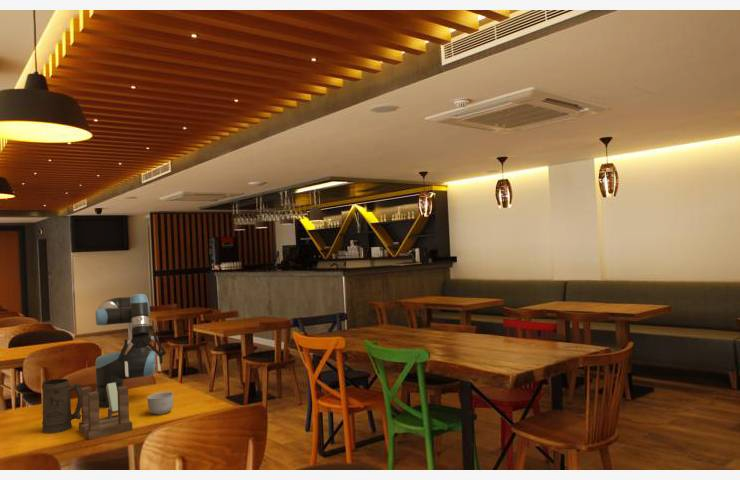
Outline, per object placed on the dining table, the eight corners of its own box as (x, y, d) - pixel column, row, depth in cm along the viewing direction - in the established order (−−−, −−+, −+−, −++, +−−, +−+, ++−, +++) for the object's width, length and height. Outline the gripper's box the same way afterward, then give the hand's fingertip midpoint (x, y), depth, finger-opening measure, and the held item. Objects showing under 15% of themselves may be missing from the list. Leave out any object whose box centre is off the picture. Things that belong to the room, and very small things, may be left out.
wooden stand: (79, 430, 232) (77, 388, 232) (121, 421, 242) (119, 380, 243) (89, 439, 220) (87, 395, 220) (133, 429, 230) (131, 387, 230)
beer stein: (38, 435, 228) (40, 384, 228) (41, 427, 237) (43, 378, 238) (81, 431, 234) (83, 381, 234) (83, 424, 244) (85, 376, 244)
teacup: (165, 416, 247) (164, 398, 247) (142, 416, 249) (141, 397, 249) (182, 407, 260) (181, 389, 260) (160, 407, 262) (159, 389, 262)
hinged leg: (110, 414, 239) (105, 386, 244) (118, 412, 241) (113, 385, 246) (112, 411, 237) (107, 383, 241) (120, 409, 239) (115, 382, 243)
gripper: (109, 329, 255) (111, 377, 247) (167, 320, 261) (171, 366, 253) (113, 334, 262) (115, 380, 254) (170, 325, 268) (174, 370, 260)
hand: (143, 373), depth 254 cm, fingers open, 13 cm apart
